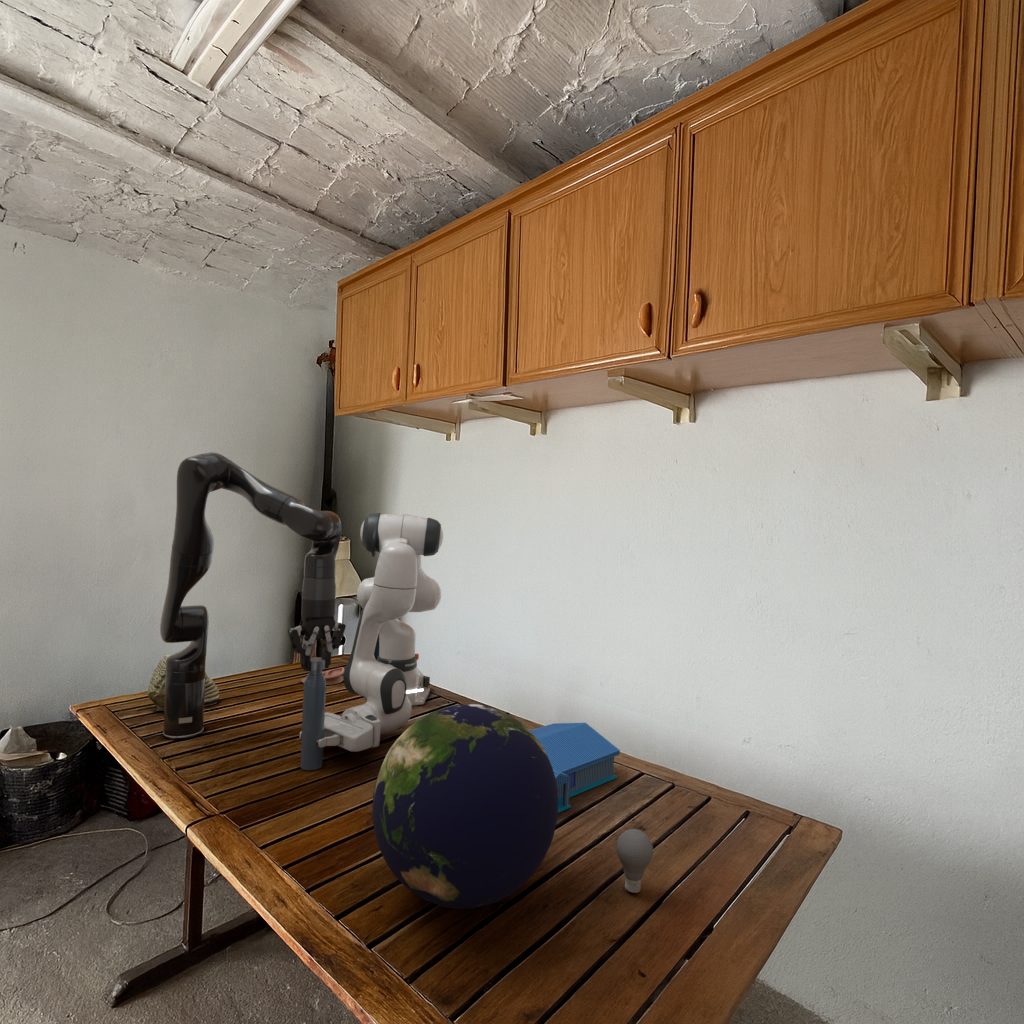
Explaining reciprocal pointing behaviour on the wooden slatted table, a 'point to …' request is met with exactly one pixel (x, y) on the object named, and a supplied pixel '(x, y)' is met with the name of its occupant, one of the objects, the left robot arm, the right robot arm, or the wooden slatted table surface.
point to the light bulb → (634, 857)
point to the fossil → (158, 687)
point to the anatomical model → (332, 676)
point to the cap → (317, 663)
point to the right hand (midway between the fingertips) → (309, 739)
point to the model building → (576, 758)
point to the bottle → (313, 720)
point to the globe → (465, 806)
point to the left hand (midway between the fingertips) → (315, 668)
